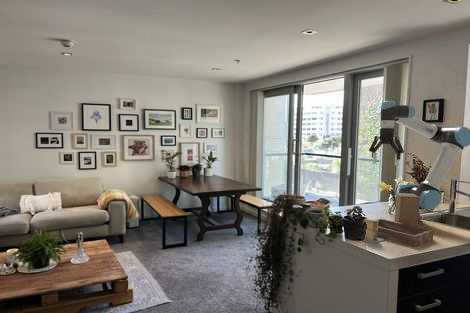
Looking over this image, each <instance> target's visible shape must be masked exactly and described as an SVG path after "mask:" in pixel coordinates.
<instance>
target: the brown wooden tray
mask: <svg viewBox="0 0 470 313" xmlns="http://www.w3.org/2000/svg"><path fill="white" fill-rule="evenodd" d="M376 220H378V236H377V238H381V239H384V240H385V239H386V240H389V241H392V242H397V243H400V244H404V245H407V246H410V247H414V248H416V247H419V246H421V245H424V244H425V243H428V242H429V243H430V242H432V241H433V240H434V230H431V229H427V228H423V227H420V226H418V227H415V226H411V225H407V224H402V223H398V222H395V220H394V221H393V220H389V219H385V218H378V219H376Z"/></svg>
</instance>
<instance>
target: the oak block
mask: <svg viewBox="0 0 470 313" xmlns="http://www.w3.org/2000/svg"><path fill="white" fill-rule="evenodd" d="M364 221H365V222H366V224H367V229H366V235H365V239H367V240H371V241H373V240H376V239H377V238H378V220H377V219H375V218H371V217H367V218H364V219H363V222H364Z"/></svg>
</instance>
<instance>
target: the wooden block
mask: <svg viewBox="0 0 470 313" xmlns="http://www.w3.org/2000/svg"><path fill="white" fill-rule="evenodd" d="M419 200H420V197H419V196H417V195H415V194H406V193H399V192H397V193H396V194H395V205H394V206H395V207H394V222H398V223H402V224H407V225H411V226H415V227H419V222H418V217H419V212H420V207H419Z"/></svg>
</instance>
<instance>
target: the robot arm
mask: <svg viewBox="0 0 470 313" xmlns="http://www.w3.org/2000/svg"><path fill="white" fill-rule="evenodd" d="M379 113H380V114H379V115H380V120H379V121H380V122H379V123H380V125H379V128H380V129H379V135H375V136H374V138H373V142H372V143H371V145H370V146H369V149H368V151H369V152H371V158H372V164H377V159H378V158H377V156H378V152H377V151H378V150H379V149H380V148H381V146H382V145H384V144H385V145H390V146H391V147H392V149H393V150H394V152H395V154H394V166H399V163H400V160H401V154H404V153H405V150H404V148H403V146H402V143H401V141H400V136H394V135H395V129H394V128H395V123H397V124H398V125H401V126H403V127H406V128H408V129H410V130H411V131H414V132H416V133H418V134H421V135H423V136H424V137H425V138H426V140H427V139H428V140H429V141H432V142H434V143H437V144H439V145H441V149H440V152H439V153H438V154H437V155H438V156H436V159H435V161H434V162H433V164H432V166H431V168H430V170H429V172H428V174H427V176H426V178H425V180H423V181H421V182H420V183H401V184H399V187H398V193H406V194H415V195H417V196H419V197H420V200H419V208H422V209H426V210H432V209H435V208H437V207H438V206H439V205H440V203H441V201H442V198H441V196H442V195H441V194H440V193H441V189H440V187H441V186H442V184H443V181H444V180H445V179H446V178H445V177H447V174H448V172H449V170H451V169H450V168H451V166H452V165H453V163H454V162H455V160H456V157H457V155H458V154H459V153H462V152H463V150H464V148H466V147H469V146H470V128H469V127H467V126H462V125H461V126H440V125H436V124H435V123H434V124H430V123H428V122H425V121H423V120H422V119H419V118H417V117H415V114H416V109H415V106H413V105H409V104H396V101H394V100H384V101H382V102H381V105H380V112H379ZM394 141H395V142H394ZM420 222H422V216H421V212H420V211H419V217H418V223H420Z"/></svg>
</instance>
